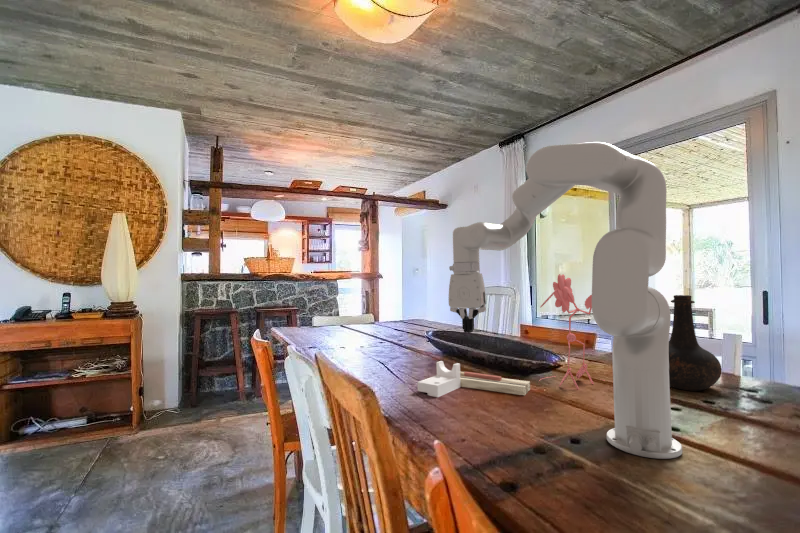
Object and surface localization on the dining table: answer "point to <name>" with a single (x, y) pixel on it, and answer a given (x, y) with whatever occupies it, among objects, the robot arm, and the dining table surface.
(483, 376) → the pencil
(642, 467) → the dining table surface
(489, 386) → the board
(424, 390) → the bracket
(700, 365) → the glass bottle
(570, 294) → the figurine
